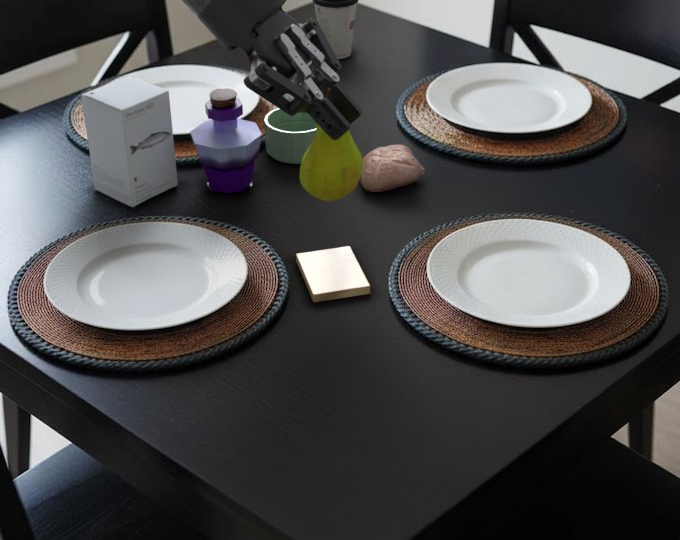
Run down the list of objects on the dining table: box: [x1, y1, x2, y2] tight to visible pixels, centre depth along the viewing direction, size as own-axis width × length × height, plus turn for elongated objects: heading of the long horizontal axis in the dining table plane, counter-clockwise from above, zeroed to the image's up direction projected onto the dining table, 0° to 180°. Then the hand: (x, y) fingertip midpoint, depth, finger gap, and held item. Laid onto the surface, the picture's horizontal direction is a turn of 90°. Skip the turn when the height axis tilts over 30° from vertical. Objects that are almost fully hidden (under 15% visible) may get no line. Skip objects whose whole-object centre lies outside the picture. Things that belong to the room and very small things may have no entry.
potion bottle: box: [189, 88, 263, 196], centre depth 124 cm, size 9×9×12 cm
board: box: [295, 245, 371, 303], centre depth 110 cm, size 6×8×1 cm
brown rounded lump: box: [359, 143, 425, 193], centre depth 126 cm, size 8×6×8 cm
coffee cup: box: [312, 0, 359, 60], centre depth 159 cm, size 7×7×10 cm
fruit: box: [299, 88, 364, 202], centre depth 102 cm, size 6×6×12 cm
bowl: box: [263, 107, 317, 165], centre depth 133 cm, size 8×8×4 cm
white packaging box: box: [80, 75, 179, 208], centre depth 123 cm, size 7×7×13 cm
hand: (348, 126), depth 100 cm, fingers closed on fruit, 2 cm apart
